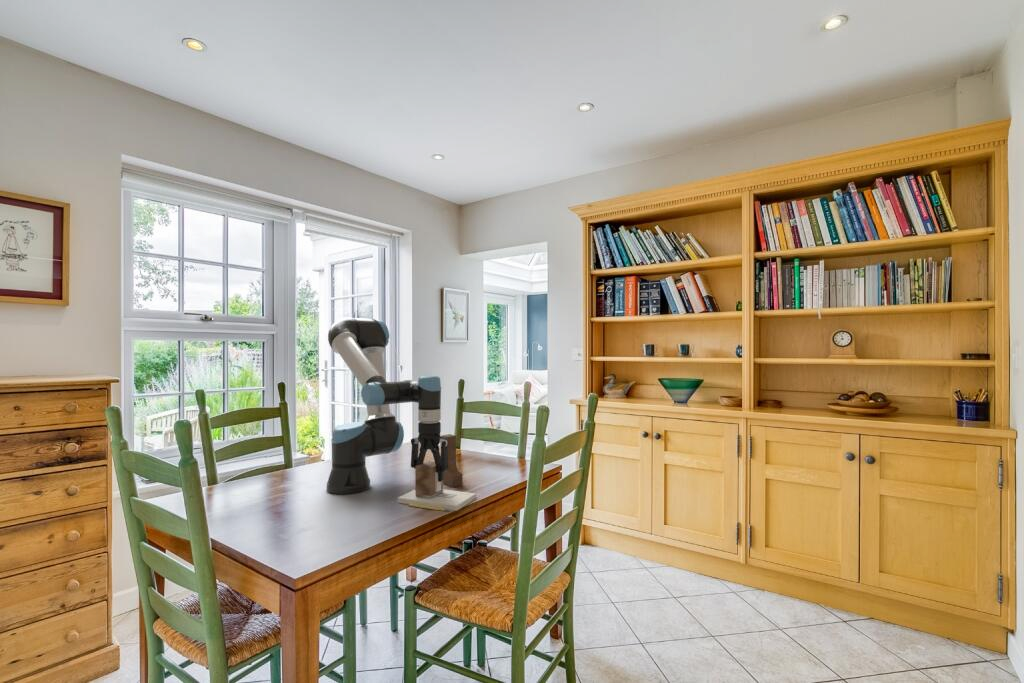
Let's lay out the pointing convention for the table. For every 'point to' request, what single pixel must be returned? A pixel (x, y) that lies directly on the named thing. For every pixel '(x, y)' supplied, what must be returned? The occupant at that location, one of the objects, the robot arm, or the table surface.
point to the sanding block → (426, 480)
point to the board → (440, 499)
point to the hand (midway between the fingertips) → (429, 489)
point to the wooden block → (451, 464)
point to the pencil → (429, 507)
